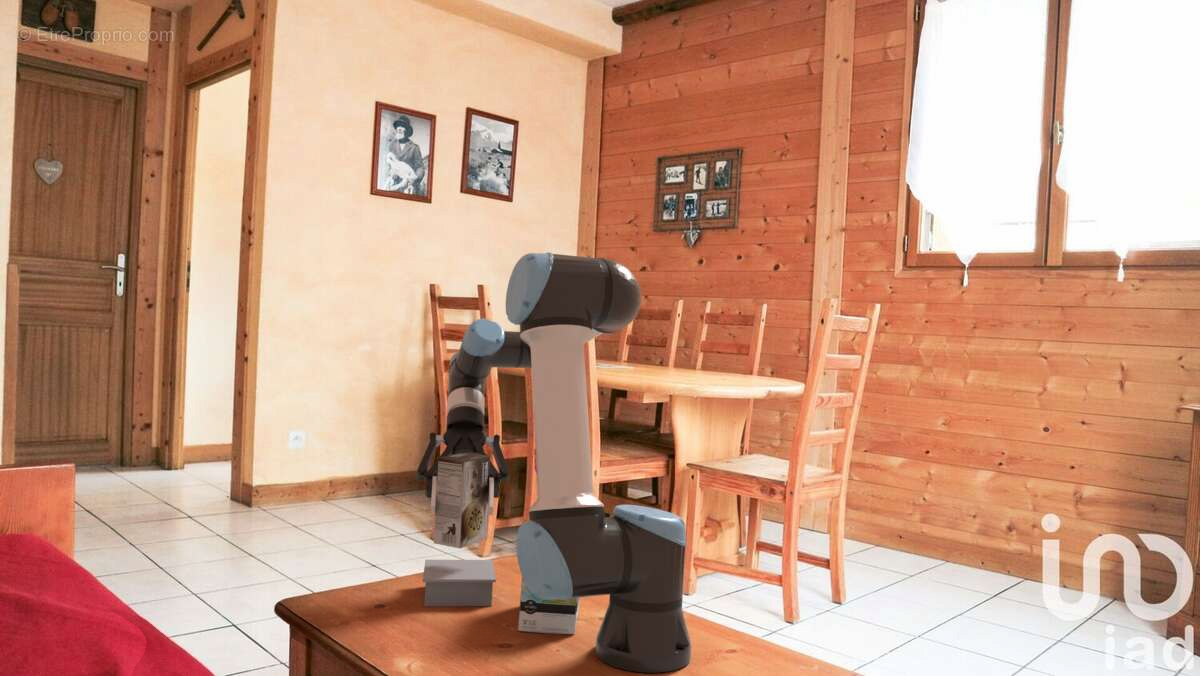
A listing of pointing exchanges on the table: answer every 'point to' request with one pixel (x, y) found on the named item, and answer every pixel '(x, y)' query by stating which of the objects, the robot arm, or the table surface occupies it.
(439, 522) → the coffee box
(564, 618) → the tea box
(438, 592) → the grey plinth
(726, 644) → the table surface
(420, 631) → the table surface
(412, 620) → the table surface
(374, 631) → the table surface
